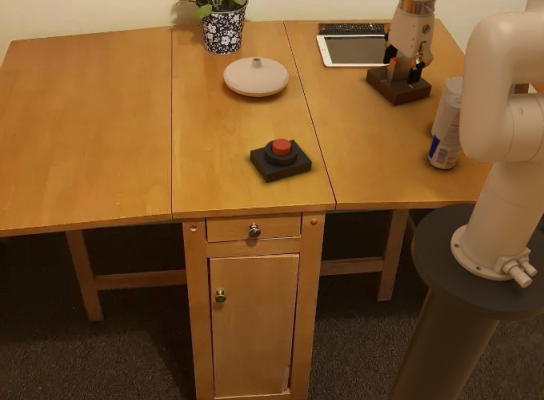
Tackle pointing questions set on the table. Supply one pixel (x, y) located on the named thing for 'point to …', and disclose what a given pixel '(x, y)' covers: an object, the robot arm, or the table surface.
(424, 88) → the plate
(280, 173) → the box
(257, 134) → the table surface
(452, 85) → the cup
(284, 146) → the release button
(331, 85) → the table surface
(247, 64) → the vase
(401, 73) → the block
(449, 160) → the beverage can
